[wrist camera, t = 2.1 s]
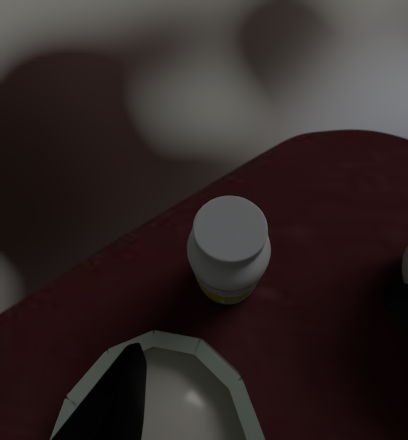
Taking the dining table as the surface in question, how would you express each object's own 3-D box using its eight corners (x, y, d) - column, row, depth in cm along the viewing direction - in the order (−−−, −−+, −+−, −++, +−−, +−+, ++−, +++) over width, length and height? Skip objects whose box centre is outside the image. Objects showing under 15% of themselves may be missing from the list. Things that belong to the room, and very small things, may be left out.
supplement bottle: (217, 237, 22) (214, 171, 13) (266, 265, 20) (299, 211, 12) (185, 282, 20) (158, 240, 11) (237, 318, 18) (250, 300, 10)
